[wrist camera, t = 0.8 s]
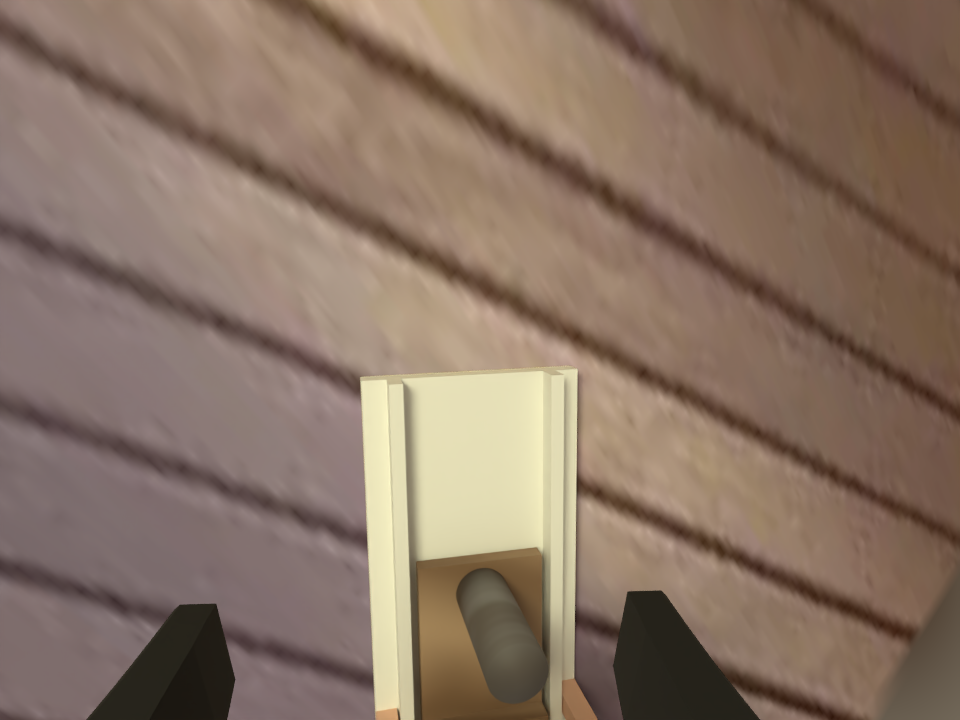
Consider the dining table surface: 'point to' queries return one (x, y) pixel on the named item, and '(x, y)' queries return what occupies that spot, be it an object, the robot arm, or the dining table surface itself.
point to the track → (469, 507)
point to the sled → (481, 636)
